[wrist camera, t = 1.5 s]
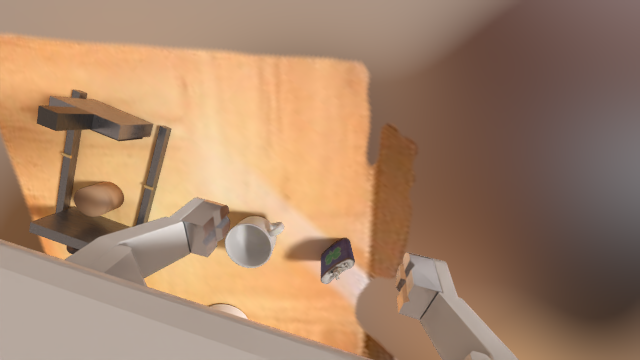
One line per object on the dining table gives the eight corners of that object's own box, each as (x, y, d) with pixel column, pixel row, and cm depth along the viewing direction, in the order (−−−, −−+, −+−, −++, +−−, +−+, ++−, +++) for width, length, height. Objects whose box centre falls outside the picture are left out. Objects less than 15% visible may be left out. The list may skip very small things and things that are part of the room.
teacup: (246, 253, 60) (235, 273, 52) (230, 217, 58) (215, 232, 50) (296, 239, 59) (292, 257, 51) (281, 201, 56) (275, 214, 49)
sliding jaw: (149, 138, 52) (85, 146, 38) (92, 115, 51) (4, 114, 37) (153, 124, 51) (89, 126, 37) (94, 99, 50) (6, 92, 36)
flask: (324, 262, 61) (325, 292, 50) (317, 255, 60) (316, 283, 50) (352, 242, 59) (358, 268, 49) (345, 234, 58) (349, 259, 48)
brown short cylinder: (121, 212, 58) (102, 221, 53) (93, 202, 57) (72, 209, 52) (126, 188, 56) (108, 194, 51) (97, 177, 55) (76, 182, 51)
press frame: (143, 240, 60) (112, 261, 51) (61, 210, 58) (14, 226, 49) (172, 129, 52) (142, 131, 43) (79, 90, 50) (27, 84, 41)
